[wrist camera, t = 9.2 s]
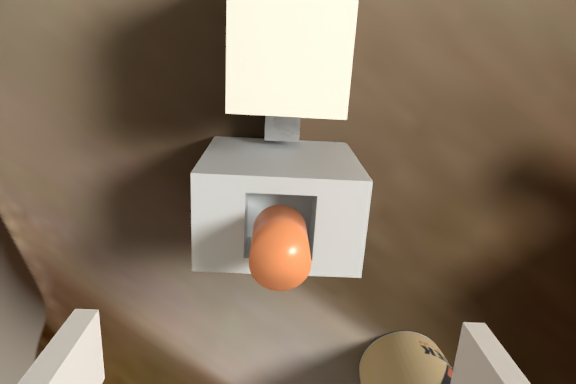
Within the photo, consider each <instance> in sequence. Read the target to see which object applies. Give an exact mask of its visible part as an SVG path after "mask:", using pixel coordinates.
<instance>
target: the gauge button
mask: <svg viewBox="0 0 576 384" xmlns="http://www.w3.org/2000/svg"><path fill="white" fill-rule="evenodd" d="M311 264H312V261H311V254H310V248H309V241H308V235H307V228H306V223H305V220H304V218H303V217H302V215H301V214H300V213H299V212H298V211H297V210H295V209H294V208H292V207H289V206H286V205H274V206H270V207H268V208H266V209H264V210H263V211H262V212H261V213H259V215H258V216H257V217H256V219H255V222H254V225H253V232H252V240H251V248H250V255H249V269H250V272H251V274H252V276H253V278H254V279H255V280H256V281H257V282H258V283H259V284H260V285H262V286H263V287H265V288H267V289H270V290H275V291H285V290H289V289H292V288H295V287H297V286H298V285H300V284H301V283H302V282H303V281H304V280H305V279H306V278H307V276H308V275H309V272H310V270H311Z"/></svg>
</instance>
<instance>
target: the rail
mask: <svg viewBox="0 0 576 384" xmlns="http://www.w3.org/2000/svg"><path fill="white" fill-rule="evenodd" d="M299 134H300V117H280V116H265V137H264V140H265V141H286V142H299Z"/></svg>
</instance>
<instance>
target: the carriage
mask: <svg viewBox="0 0 576 384" xmlns="http://www.w3.org/2000/svg"><path fill="white" fill-rule="evenodd" d="M358 1H359V0H227V1H226V95H225V114H242V115H261V116H280V117H300V118H319V119H338V120H347V114H348V103H349V93H350V83H351V73H352V62H353V52H354V42H355V32H356V21H357V11H358Z"/></svg>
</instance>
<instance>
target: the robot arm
mask: <svg viewBox="0 0 576 384" xmlns="http://www.w3.org/2000/svg"><path fill="white" fill-rule="evenodd" d="M104 379H105V375H104V364H103V352H102V341H101V330H100V318H99V310H95V309H75V310H74V311H73V312H72V313H71V315H70V316H69V317H68V319H67V320H66V321H65V323H64V324H63V325H62V326H61V328H60V329H59V330H58V332H57V333H56V334H55V336H54V337H53V338H52V339H51V341H50V342H49V343H48V345H47V346H46V347H45V349H44V350H43V351H42V352H41V354H40V355H39V356H38V358H37V359H36V360H35V362H34V363H33V364H32V366H31V367H30V368H29V369H28V371H27V372H26V373H25V375H24V376H23V377H22V378H21V380H20V381H19V382H18V384H102V383H103V381H104ZM450 384H531V383H530V382H529V381H528V379H527V378H526V377H525V375H524V374H523V373H522V371H521V370H520V369H519V367H518V366H517V365H516V363H515V362H514V361H513V359H512V358H511V357H510V355H509V354H508V353H507V351H506V350H505V349H504V347H503V346H502V345H501V343H500V342H499V341H498V339H497V338H496V337H495V336H494V334H493V333H492V332H491V330H490V329H489V328H488V326H487V325H486V324H485V323H473V322H463V324H462V329H461V334H460V339H459V344H458V349H457V354H456V358H455V363H454V368H453V373H452V378H451V383H450Z"/></svg>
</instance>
